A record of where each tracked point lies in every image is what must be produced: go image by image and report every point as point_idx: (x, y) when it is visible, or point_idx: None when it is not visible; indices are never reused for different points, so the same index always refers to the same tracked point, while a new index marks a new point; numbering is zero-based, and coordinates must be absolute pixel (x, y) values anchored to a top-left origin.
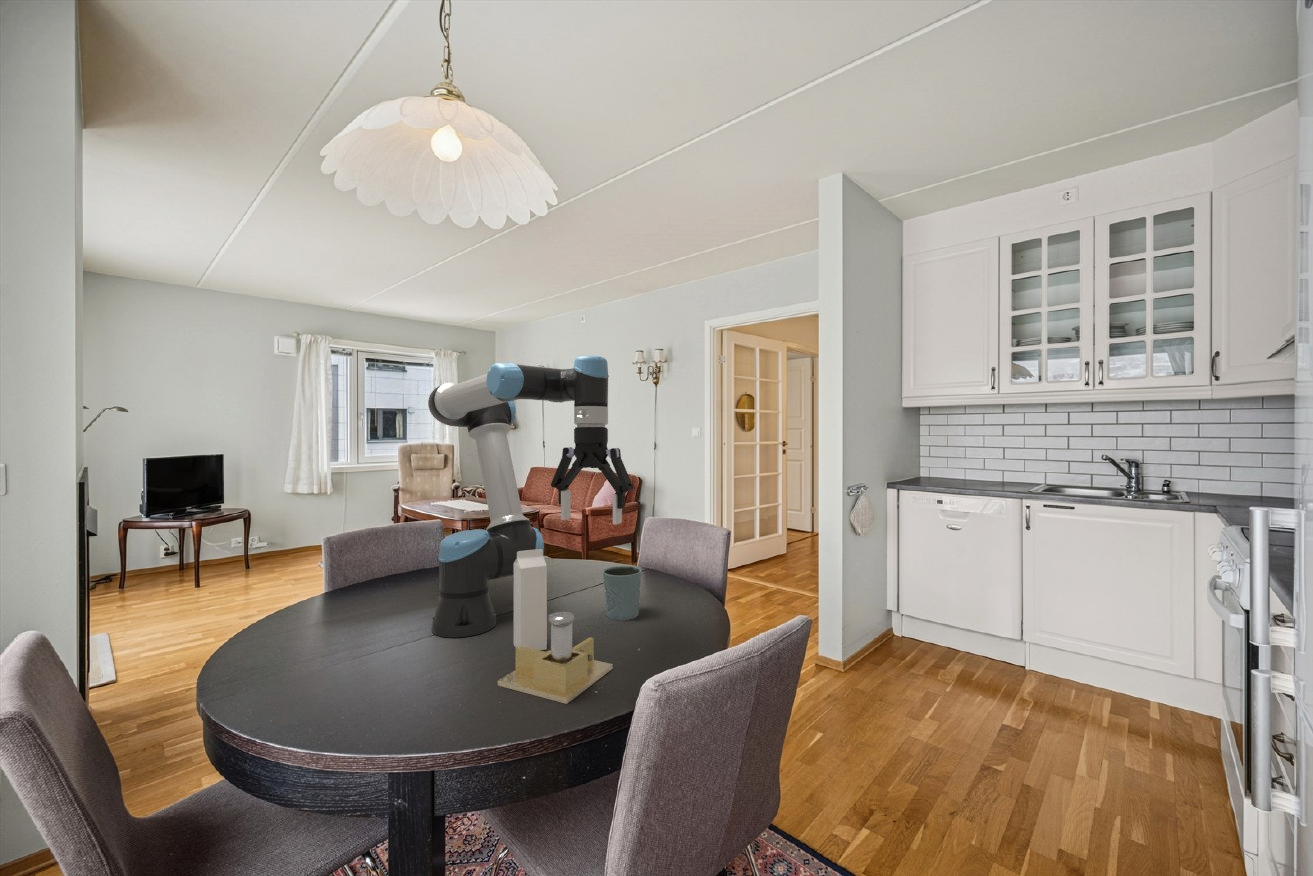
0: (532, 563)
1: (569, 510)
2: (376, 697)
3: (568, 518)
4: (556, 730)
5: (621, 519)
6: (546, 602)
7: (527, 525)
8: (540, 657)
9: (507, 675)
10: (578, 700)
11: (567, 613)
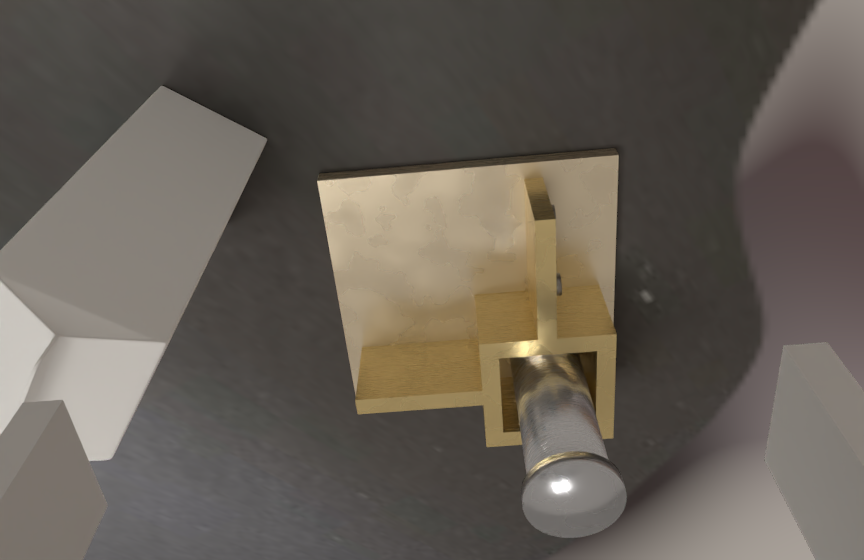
0: (102, 404)
1: (28, 495)
2: (161, 556)
3: (76, 437)
4: (655, 468)
5: (845, 378)
6: (222, 229)
7: None
8: (490, 425)
9: (357, 381)
10: (625, 355)
11: (579, 476)
